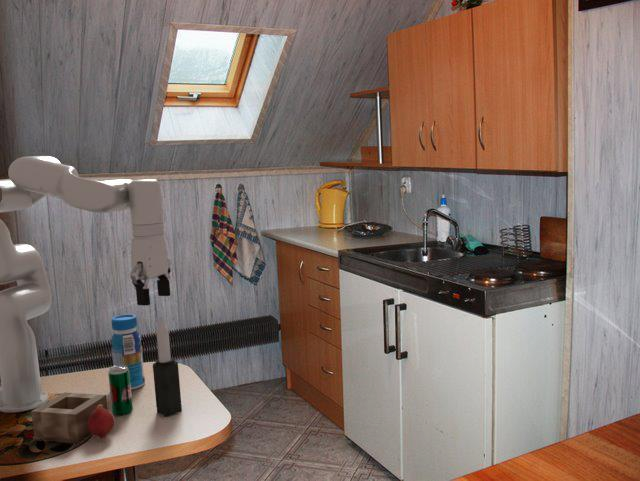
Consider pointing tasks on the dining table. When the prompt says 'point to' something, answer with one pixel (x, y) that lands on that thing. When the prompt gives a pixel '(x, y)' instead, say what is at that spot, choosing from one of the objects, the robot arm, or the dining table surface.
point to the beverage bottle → (128, 348)
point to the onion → (100, 422)
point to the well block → (66, 417)
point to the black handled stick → (166, 375)
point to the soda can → (120, 390)
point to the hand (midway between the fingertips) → (154, 300)
